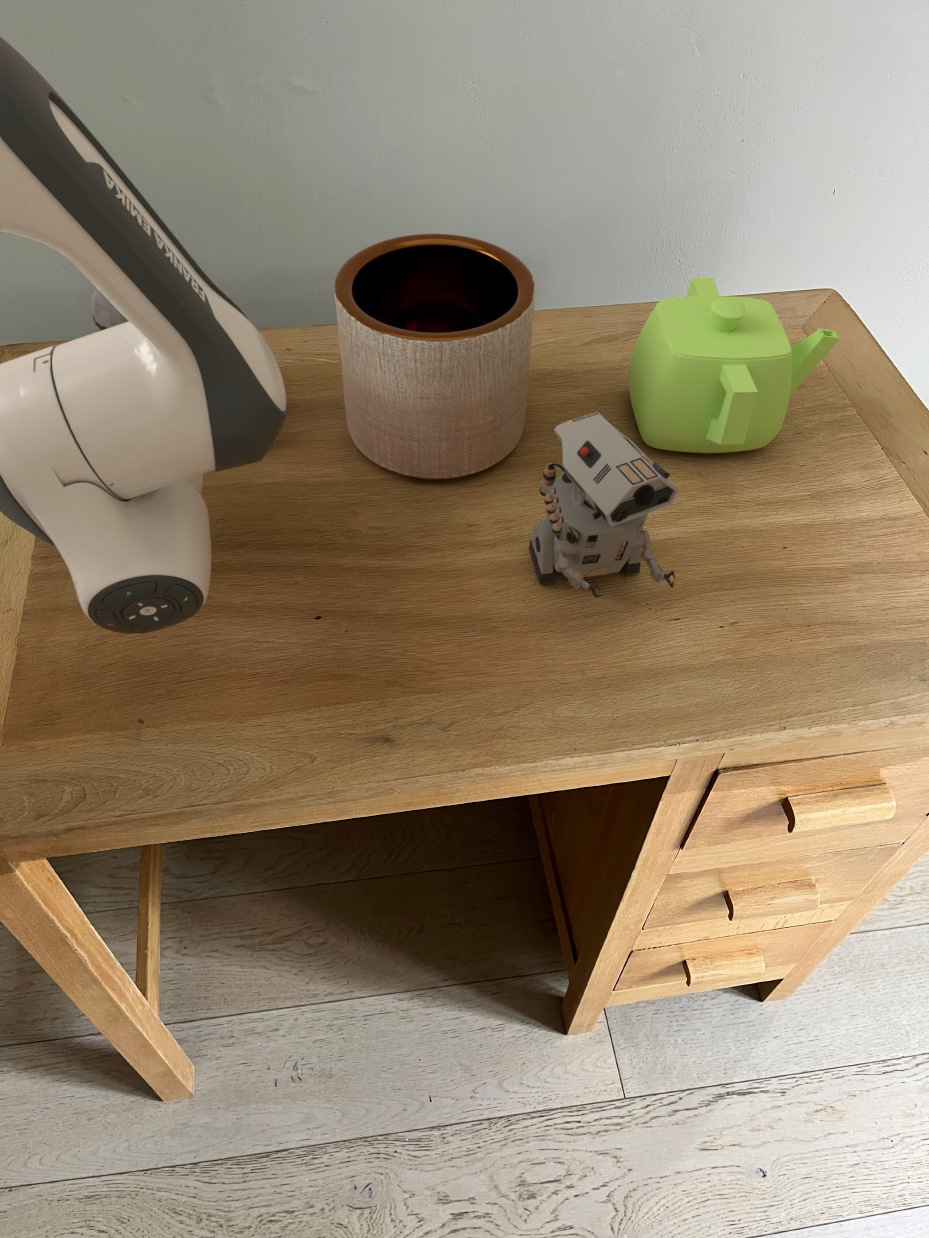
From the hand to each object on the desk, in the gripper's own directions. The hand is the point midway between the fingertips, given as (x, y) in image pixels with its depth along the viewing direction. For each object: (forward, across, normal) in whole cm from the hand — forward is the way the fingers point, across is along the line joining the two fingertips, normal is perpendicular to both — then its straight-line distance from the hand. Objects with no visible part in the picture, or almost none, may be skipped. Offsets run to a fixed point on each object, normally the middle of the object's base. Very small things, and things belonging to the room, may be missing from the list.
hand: (131, 345), depth 72 cm
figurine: (-24, -34, +13) cm, 44 cm away
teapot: (-7, -54, +13) cm, 56 cm away
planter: (-1, -26, +13) cm, 29 cm away
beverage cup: (+7, 0, +13) cm, 14 cm away
